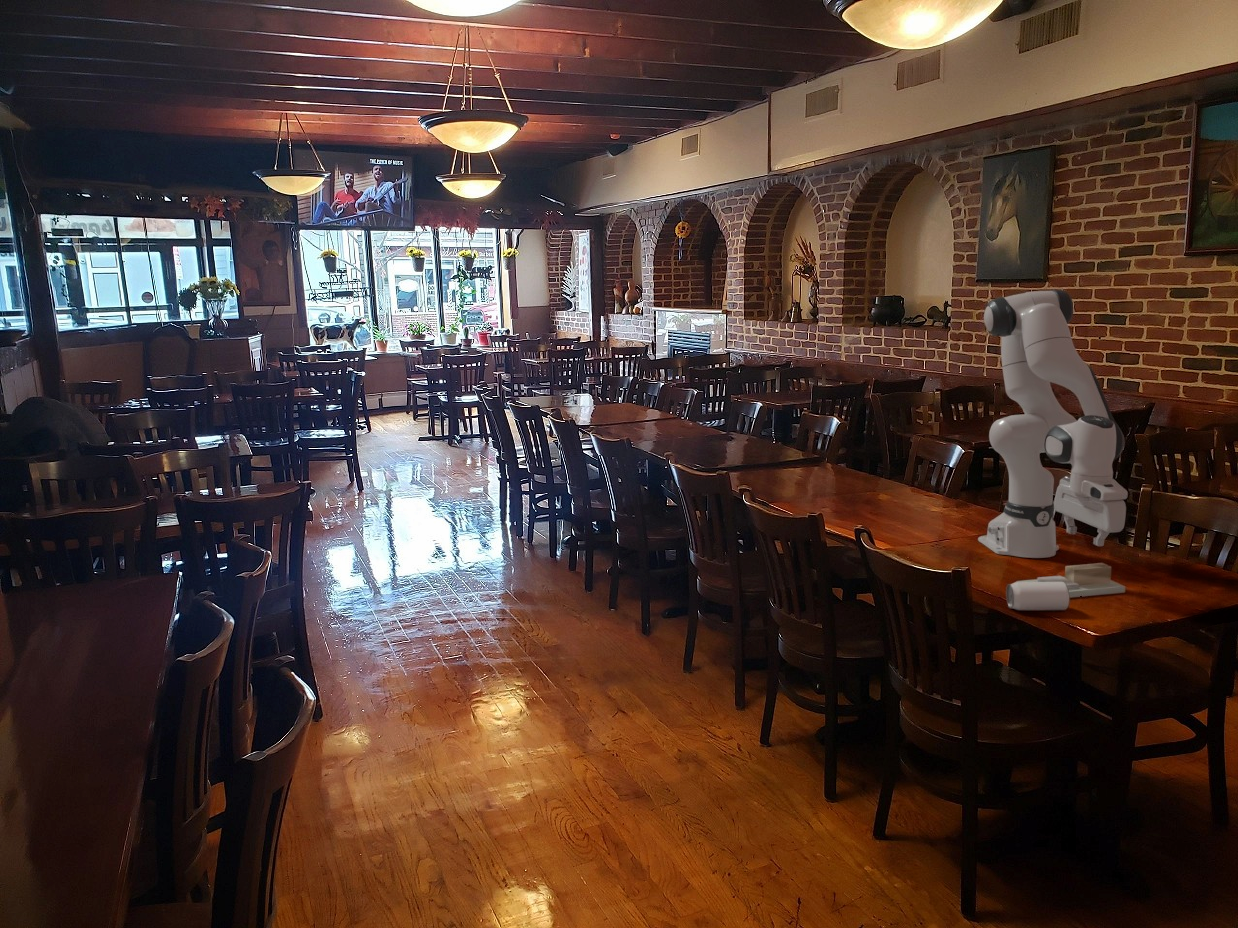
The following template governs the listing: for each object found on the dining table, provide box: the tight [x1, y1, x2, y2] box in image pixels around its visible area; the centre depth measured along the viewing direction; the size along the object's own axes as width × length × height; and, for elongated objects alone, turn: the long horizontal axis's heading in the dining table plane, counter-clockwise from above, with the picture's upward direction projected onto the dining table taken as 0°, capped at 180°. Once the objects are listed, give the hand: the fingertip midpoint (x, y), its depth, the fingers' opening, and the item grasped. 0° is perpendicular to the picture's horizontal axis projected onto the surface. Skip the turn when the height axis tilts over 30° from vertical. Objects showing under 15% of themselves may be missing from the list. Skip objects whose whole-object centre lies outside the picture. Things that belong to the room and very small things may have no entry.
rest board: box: [1015, 576, 1126, 599], centre depth 210 cm, size 10×22×2 cm, turn 100°
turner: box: [1036, 562, 1112, 589], centre depth 210 cm, size 7×16×4 cm, turn 100°
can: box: [1005, 581, 1071, 611], centre depth 198 cm, size 6×6×12 cm
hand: (1084, 539), depth 209 cm, fingers open, 8 cm apart
